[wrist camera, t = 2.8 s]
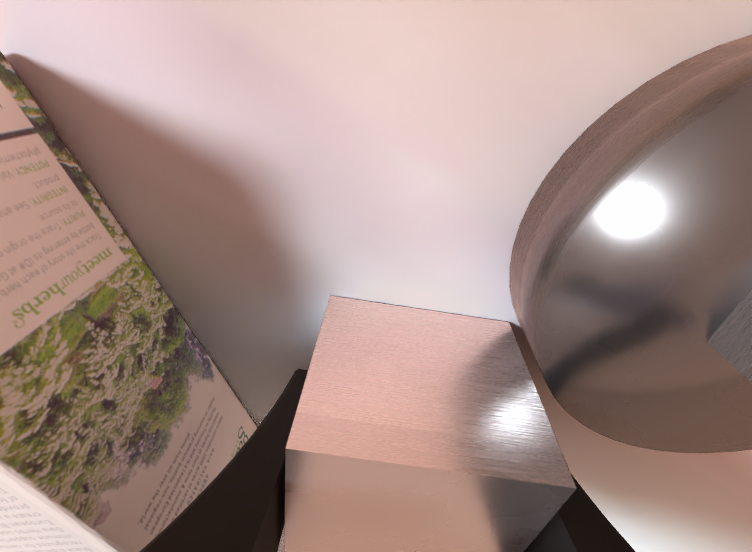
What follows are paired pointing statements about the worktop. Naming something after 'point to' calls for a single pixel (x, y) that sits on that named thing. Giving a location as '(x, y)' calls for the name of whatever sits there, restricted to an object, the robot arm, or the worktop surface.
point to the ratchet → (650, 263)
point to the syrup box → (91, 363)
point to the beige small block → (419, 437)
